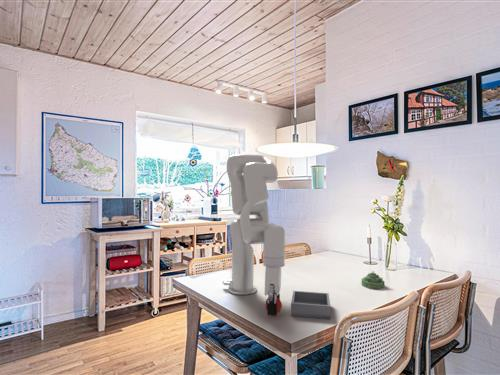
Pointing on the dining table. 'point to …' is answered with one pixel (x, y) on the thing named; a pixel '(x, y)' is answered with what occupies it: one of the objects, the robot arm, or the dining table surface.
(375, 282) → the decorative artifact
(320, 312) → the tray
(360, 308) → the dining table surface
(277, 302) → the onion
